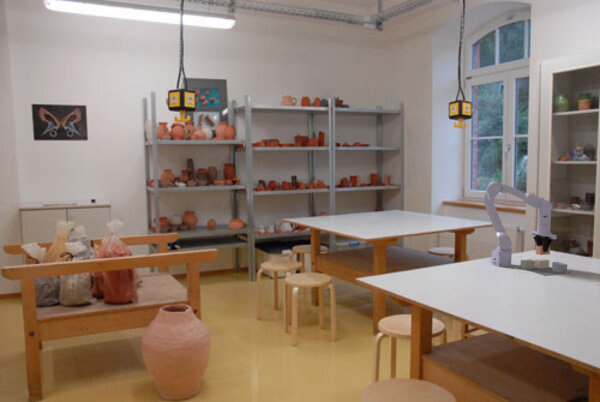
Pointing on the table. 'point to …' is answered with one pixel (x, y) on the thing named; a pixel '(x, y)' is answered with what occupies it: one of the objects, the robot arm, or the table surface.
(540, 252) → the terracotta brick
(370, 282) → the table surface
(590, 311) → the table surface
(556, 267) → the bluegrey brick
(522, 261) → the sage brick
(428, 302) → the table surface
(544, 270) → the mat
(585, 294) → the table surface
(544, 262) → the cream brick
